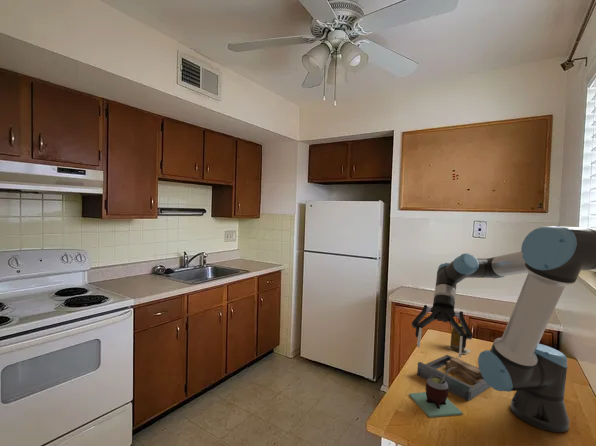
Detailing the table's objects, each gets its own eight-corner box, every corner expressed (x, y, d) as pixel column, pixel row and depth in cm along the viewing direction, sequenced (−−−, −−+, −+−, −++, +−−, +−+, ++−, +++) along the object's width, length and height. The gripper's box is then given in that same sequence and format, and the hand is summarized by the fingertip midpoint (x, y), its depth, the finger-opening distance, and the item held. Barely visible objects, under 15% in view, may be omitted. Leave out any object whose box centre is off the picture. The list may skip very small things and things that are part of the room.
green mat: (462, 414, 103) (462, 412, 103) (429, 417, 100) (429, 415, 100) (439, 392, 115) (439, 391, 114) (409, 395, 112) (409, 393, 112)
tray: (496, 383, 123) (497, 370, 123) (468, 401, 110) (469, 387, 110) (446, 361, 139) (447, 350, 139) (417, 374, 126) (418, 362, 126)
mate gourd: (422, 395, 111) (425, 353, 111) (446, 398, 110) (449, 356, 110) (428, 408, 104) (431, 364, 103) (453, 411, 103) (457, 366, 102)
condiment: (453, 344, 158) (455, 321, 157) (471, 351, 151) (473, 326, 151) (446, 348, 153) (448, 324, 153) (464, 355, 147) (466, 329, 146)
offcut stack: (483, 384, 123) (484, 372, 122) (476, 386, 121) (477, 374, 121) (453, 366, 135) (454, 355, 135) (445, 368, 134) (446, 357, 133)
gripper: (480, 309, 121) (478, 364, 109) (411, 298, 133) (403, 346, 121) (481, 299, 116) (479, 355, 104) (410, 288, 128) (401, 337, 116)
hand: (438, 350), depth 112 cm, fingers open, 13 cm apart
